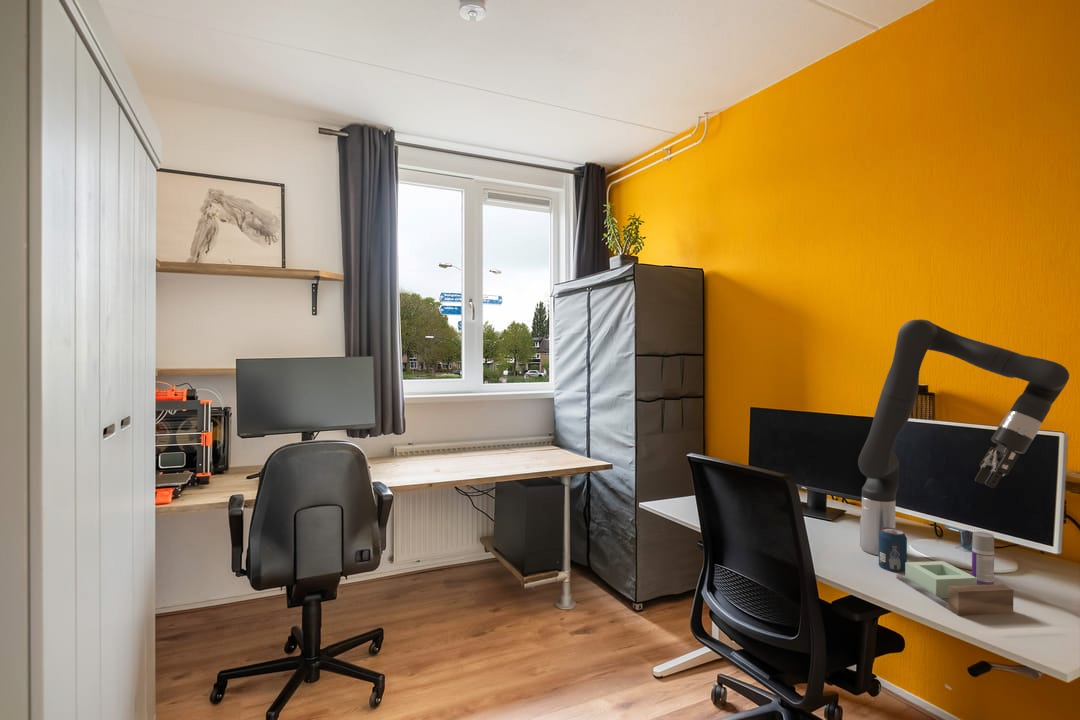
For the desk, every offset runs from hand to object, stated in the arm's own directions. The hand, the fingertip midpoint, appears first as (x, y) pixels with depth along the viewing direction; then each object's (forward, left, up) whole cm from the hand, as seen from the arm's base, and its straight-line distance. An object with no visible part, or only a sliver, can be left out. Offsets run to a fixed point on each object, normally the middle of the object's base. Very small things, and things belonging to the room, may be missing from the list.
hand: (983, 484), depth 149 cm
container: (0, 0, -29) cm, 29 cm away
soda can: (-13, -16, -29) cm, 35 cm away
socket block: (+1, -13, -27) cm, 31 cm away
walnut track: (+6, -13, -29) cm, 32 cm away
